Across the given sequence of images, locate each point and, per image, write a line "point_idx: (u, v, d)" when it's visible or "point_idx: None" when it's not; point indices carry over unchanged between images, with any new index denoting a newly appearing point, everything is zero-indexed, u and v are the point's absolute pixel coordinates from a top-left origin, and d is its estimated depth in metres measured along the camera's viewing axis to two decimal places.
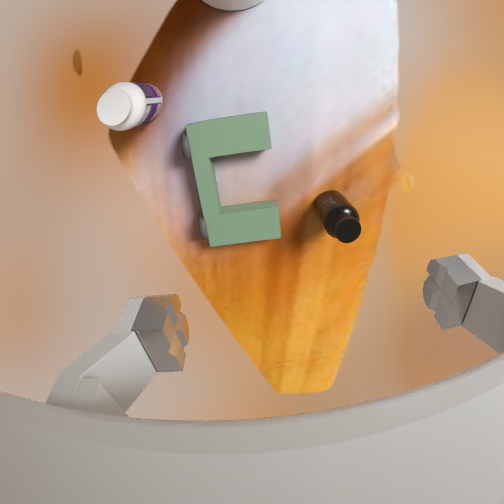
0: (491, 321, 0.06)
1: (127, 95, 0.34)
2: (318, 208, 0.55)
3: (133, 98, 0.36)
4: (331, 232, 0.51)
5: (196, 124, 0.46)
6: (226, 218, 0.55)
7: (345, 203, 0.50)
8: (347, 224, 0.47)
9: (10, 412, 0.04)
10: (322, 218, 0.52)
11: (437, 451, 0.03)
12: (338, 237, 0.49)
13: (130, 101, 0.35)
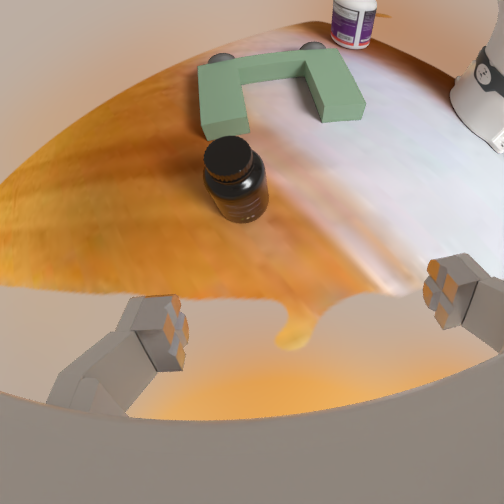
0: (491, 321, 0.06)
1: None
2: None
3: (364, 0, 0.33)
4: None
5: (339, 54, 0.39)
6: (232, 73, 0.40)
7: (265, 175, 0.31)
8: (239, 149, 0.27)
9: (10, 412, 0.04)
10: None
11: (437, 451, 0.03)
12: (215, 141, 0.28)
13: None
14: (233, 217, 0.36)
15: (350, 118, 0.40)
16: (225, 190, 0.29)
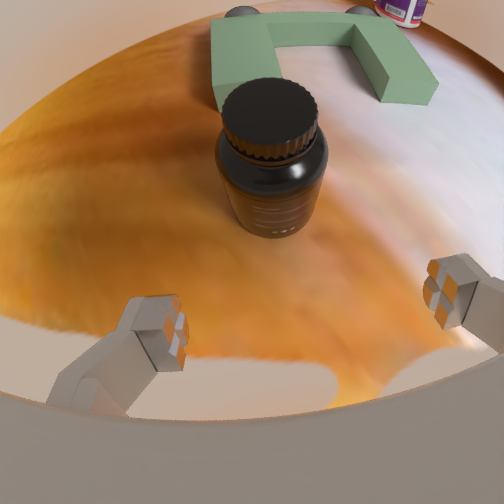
0: (491, 321, 0.06)
1: None
2: None
3: None
4: None
5: (394, 25, 0.26)
6: (259, 28, 0.26)
7: None
8: (294, 100, 0.13)
9: (10, 412, 0.04)
10: None
11: (437, 451, 0.03)
12: (246, 84, 0.13)
13: None
14: (261, 229, 0.21)
15: (415, 101, 0.26)
16: (259, 177, 0.15)
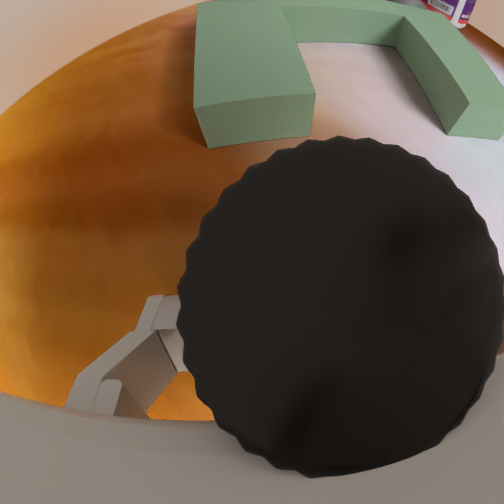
0: None
1: None
2: None
3: None
4: None
5: (450, 23, 0.16)
6: (270, 13, 0.16)
7: None
8: (455, 266, 0.03)
9: (10, 412, 0.04)
10: None
11: (437, 451, 0.03)
12: (272, 169, 0.04)
13: None
14: None
15: (487, 135, 0.16)
16: None
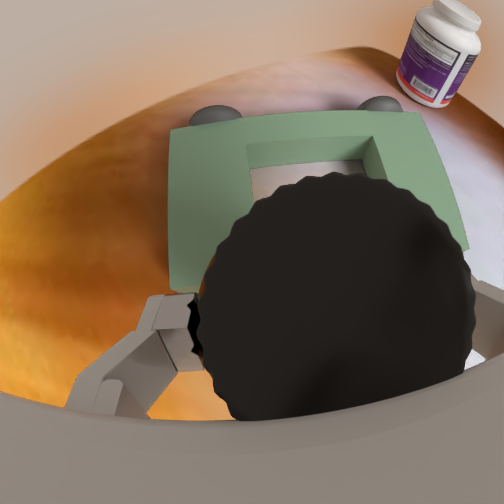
0: (477, 326, 0.06)
1: (478, 26, 0.15)
2: None
3: (469, 36, 0.16)
4: None
5: (425, 127, 0.22)
6: (235, 157, 0.23)
7: None
8: (429, 287, 0.04)
9: (10, 412, 0.04)
10: None
11: (437, 451, 0.03)
12: (276, 205, 0.04)
13: (472, 25, 0.15)
14: None
15: None
16: None
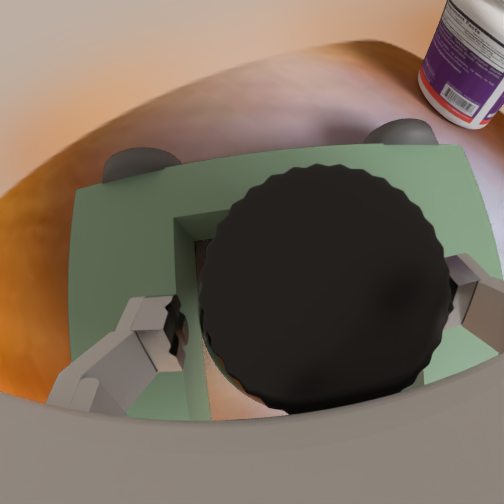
0: (491, 321, 0.06)
1: None
2: None
3: None
4: None
5: (470, 171, 0.13)
6: (155, 243, 0.14)
7: None
8: (403, 260, 0.05)
9: (10, 412, 0.04)
10: None
11: (437, 451, 0.03)
12: (267, 190, 0.05)
13: None
14: None
15: None
16: None
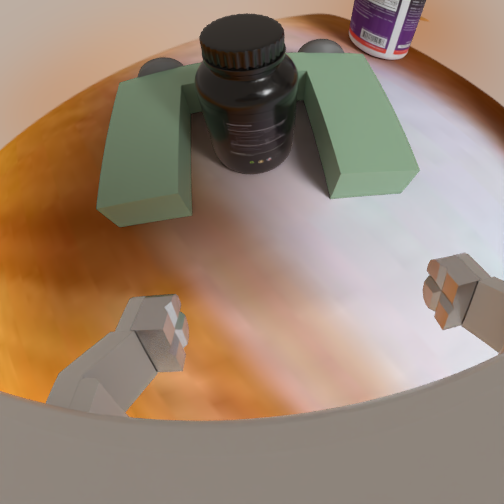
0: (491, 321, 0.06)
1: None
2: None
3: None
4: None
5: (367, 65, 0.22)
6: (169, 96, 0.22)
7: None
8: (263, 25, 0.13)
9: (10, 412, 0.04)
10: None
11: (437, 451, 0.03)
12: (222, 18, 0.13)
13: None
14: (238, 158, 0.21)
15: (383, 192, 0.22)
16: (231, 90, 0.15)
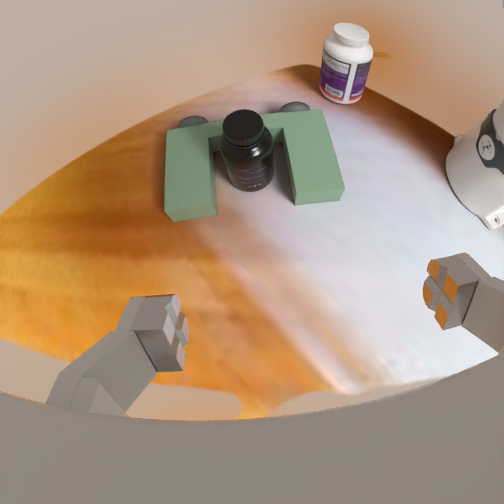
0: (491, 321, 0.06)
1: (364, 42, 0.32)
2: None
3: (358, 50, 0.33)
4: None
5: (323, 118, 0.40)
6: (201, 144, 0.40)
7: (273, 146, 0.35)
8: (253, 120, 0.31)
9: (10, 412, 0.04)
10: None
11: (437, 451, 0.03)
12: (233, 113, 0.32)
13: (358, 43, 0.32)
14: (242, 184, 0.39)
15: (326, 200, 0.40)
16: (238, 154, 0.33)
